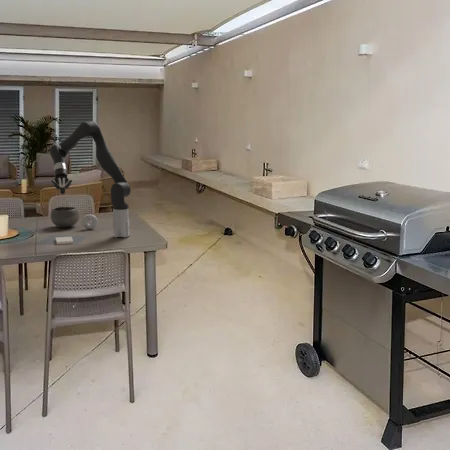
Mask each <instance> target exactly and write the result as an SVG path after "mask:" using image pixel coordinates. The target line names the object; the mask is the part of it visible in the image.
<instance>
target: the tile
mask: <svg viewBox="0 0 450 450" xmlns="http://www.w3.org/2000/svg"><path fill="white" fill-rule="evenodd" d="M56 243H57V244H56V246H57V245H62V244H73V239H72V237H56Z"/></svg>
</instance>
